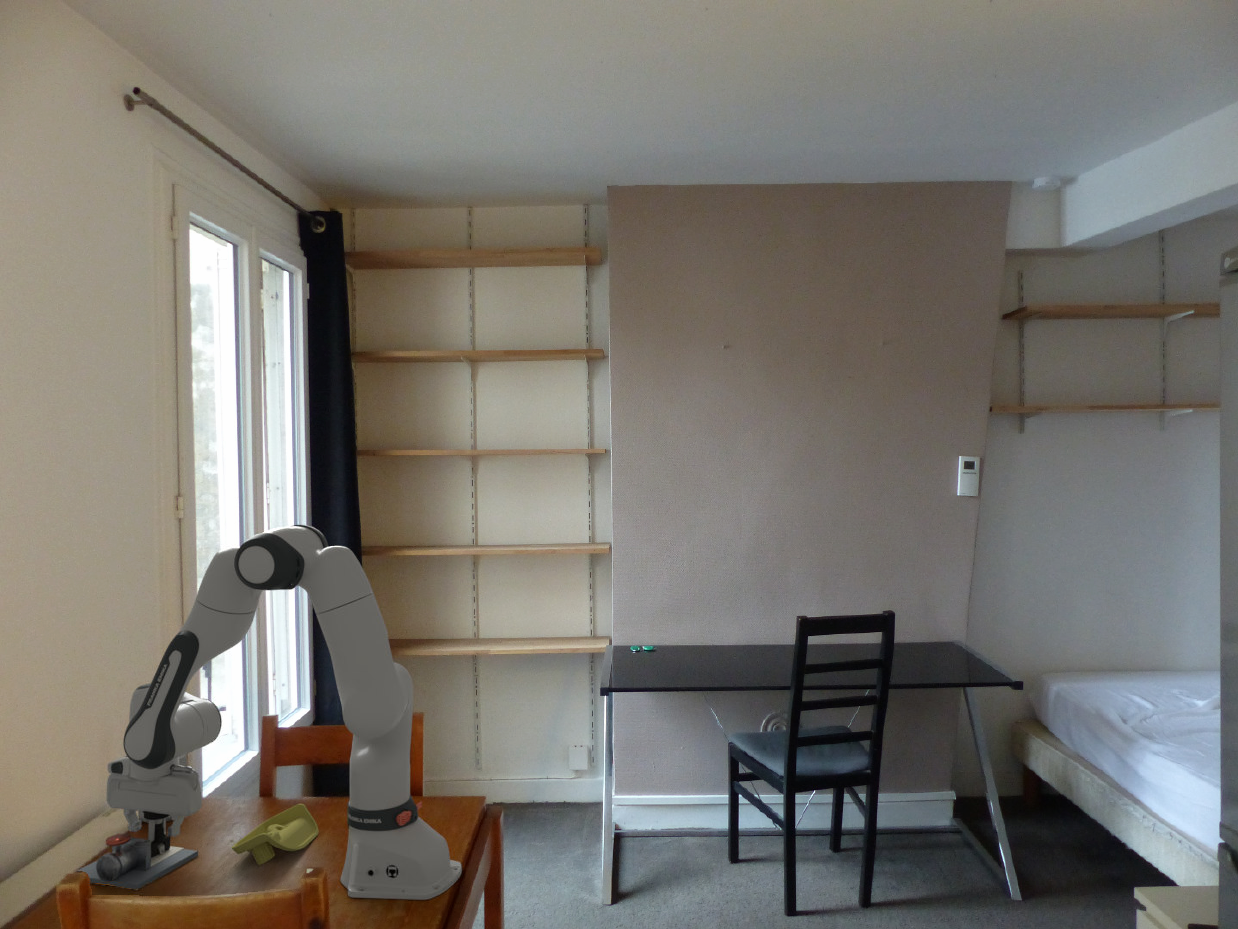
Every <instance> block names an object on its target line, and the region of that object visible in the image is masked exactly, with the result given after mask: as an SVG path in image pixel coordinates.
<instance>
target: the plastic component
mask: <svg viewBox="0 0 1238 929" xmlns="http://www.w3.org/2000/svg"><path fill="white" fill-rule="evenodd" d="M318 835H319V827H318V824H317V822H316V820H315V819H314V817H313V816H312V814H311V813H310V811H309V810H308V807H306V805H305V804H303V803H298V804H296V805H294V806H291V807H290V808H287V809H285V810H283V811H282V812H280V813H277V814H276V815H274V816H272V817H270V818H268V819H266V820H265V821H263V822H262V823H260V824H258V825H257V826H256V827H255V828H254V829H253V830H250V832H249V833H247V834H246V835H244V837H242V838H240V840H238V841H237V842H236V843H235V844H233V845H232V846H231V849H232V850H233V852H235V853H236V855H237V854H238V855H240V854H244V853H246V852H247V853H252V855H253V857H254V860H255V862H256V864H257V866H260V865H263V864H265V863H266V862H269V861H270V860H271V859H273V858H274V857H275V856H276V854H275V851H274V850H273V847H275V848H278V849H280V850H283V851H287V852H297V851H299V850H302V849H304V848H306V847H307V846H308V845H309V844H310V842H312V841H313V840H315V838H316V837H317V836H318ZM272 846H273V847H272Z"/></svg>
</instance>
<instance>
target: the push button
mask: <svg viewBox="0 0 1238 929" xmlns="http://www.w3.org/2000/svg"><path fill="white" fill-rule="evenodd" d="M143 813H144V818H145V819H148V821H149V823H148V835H147V840H151V858H153V857H154V856H156V855H158V854H162V853H164V851H165V850H169V849H170V846H171V837H172V836H168V835H167V832H166V828H167V827H166V826H167V822H166V818H167V817H168V816H169V815H168V814H160V813H153V812H147V811H143Z"/></svg>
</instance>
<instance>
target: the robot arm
mask: <svg viewBox="0 0 1238 929" xmlns="http://www.w3.org/2000/svg"><path fill="white" fill-rule="evenodd" d="M296 587H300V588H302V589H303V591H304V590H305V592H306V593H307V594H308V596H309V600H310V601H311V603H312V607H313V609H314V610H313V611H314V612H315V615H316V619H317V621H318V623H319V627H320V629H321V632H322V635H323V637H324V640H325V643H326V646H327V648H328V652H329V654H330V660H331V663H332V668H333V674H334V678H335V679H334V680H335V683H336V688H337V691H338V695H339V700H340V704H341V709H342V712H341V713H342V718H343V723H344V725H345V727H346V729H347V730H348V731H349V732H350V733H351V734H352V743H351V744H352V745H351V752H350V758H349V801H348V802H347V811H346V812H347V813H346V816H347V820H346V822H347V827H348V838H347V846H346V847H347V848H346V854H345V861H344V864H343V868H342V872H341V876H340V882H341V884H342V885H343V886H344V887H345V888H346V889H347V895H348V897H350V898H357V899H359V898H363V899H387V900H388V899H392V900H393V899H395V900H424V901H425V900H430V899H433V898H435V897H437V896H440V895H441V894H442V893H445V891H447V890H449V888H451V887H452V886H453V885H454V884H455V883H456V882H457V881H458V880H459V879H460V877H461V875H462V873H463V872H462V871H463V868H462V864H461V862H460V861H456V860H453V859H451V858H450V856H451V855H450V851H449V846H448V842H447V840H446V839H445V837H444V836H442V835H441V834H440V833H438V831H436V830H435V829H434V828H432V827H431V826H430V825H429V824H428V823H427V822H426V821H424V820H423V819H422V818H421V817H419V812H418V811H419V810H420V809H421V808H422V807H423V805H422V804H423V801H421V800H420V801H419V802H418V803H415V801H414V799H413V797H412V794H411V793H410V792H411V790H410V789H411V786H410V785H411V784H410V783H411V781H410V778H411V776H410V775H411V773H410V772H411V763H410V761H411V742H412V729H413V728H412V725H413V710H414V709H413V706H414V683H413V679H412V676H411V674H410V672H409V671H408V669H407V668H406V667H405V666H403V665H402V664H400V663H398V662H396V661H395V662H394V659H393V654H392V649H391V647H390V646H391V645H390V641H389V636H388V634H389V632H388V629H387V627H386V623H385V621H384V618H383V615H382V613H381V610H380V607H379V605H378V601H377V598H376V596H375V593H374V590H373V589H372V586H371V583H370V580H369V579H368V577H367V574H366V572H365V571H364V569H363V566H362V565H361V563H360V561H359V559H358V558H357V556H356V555H355V554H354V552H353V551H352V550H351V549H350V548H348V547H347V546H343V545H334V546H333V545H332V546H329V544H328V541H327V539H326V536H325V535H324V534H323V533H322V532H321V531H320V530H319V529H317V528H315V527H314V526H311V525H310V526H309V525H307V524H294V525H290V526H283V527H280V526H279V527H275V528H272V529H269V530H266V531H263V532H260V533H257V534H254V535H252V536H251V537H249V538H248V539H246V540H245V541H243V543H242V544H241V545H240V546H235V545H233V546H227V547H224V548H221V549H220V550H218V552H216V553H215V555H213V557H212V559H211V561H210V562H209V565H208V567H207V569H206V570H205V572H204V576H203V578H202V580H201V583H200V585H199V588H198V590H197V594H196V597H195V599H194V603H193V605H192V608H191V611H190V612H189V614H188V616H187V618H186V620H185V622H184V623H183V625H182V626H181V627H180V630H179V631H178V632H177V634H175V636H174V637H173V638H172V639H171V641H170V643H169V644H168V645H167V647H166V650H165V652H164V653H163V656H162V658H161V660H160V662H159V665H158V666H157V669H156V672H155V673H154V676H153V678H152V680H151V682H149V683H146V684H142V685H140V686H138V687H137V688H136V689H134V691H133V693H132V695H131V700H130V705H129V717H128V718H129V719H128V721H129V723H128V724H127V726H126V729H125V731H124V735H123V744H122V745H123V751H124V753H125V756H122V757H119V758H117V759H115V760H113V761H110V762H109V763H108V764H107V773H108V774H109V775H108V777H107V779H106V801H107V804H108V806H109V807H110V808H112V809H121V810H123V816H124V818H125V820H126V822H127V823H128V832H135V833H136V832H138V831H140V830H141V829H142V822H143V821H142V820H141V819H139V817H138V815H137V812H138V811H147V812H153V813H160V814H168V815H172V820H171V821H173V822H172V824H171V825H170V826H168V827H166V828H167V832H166V836H170V837H174V838H175V837H177V836H179V835H181V826H182V824H183V822H184V820H185V818H186V817H190V816H192V815H194V814H196V813H198V812H199V811H200V810H201V809H202V805H203V797H202V796H203V795H202V789H201V787H202V786H201V783H200V782H201V781H200V778H199V777H200V776H199V773H198V772H197V771H196V770H195V769H194V768H193V767H192V766H190V765H186V767H185V766H180V765H179V757H180V756H182V755H185V754H186V755H187V754H190V753H193V752H194V751H197V750H199V749H201V748H204V747H206V746H208V745H210V744H212V743H214V742H215V741H216V740H217V738H218V737H219V734H220V733H221V729H222V722H223V720H222V715H221V712H220V709H219V707H218V706H217V705H216V704H215V703H214V702H213V701H211V700H210V699H207V698H201V697H198V696H195V695H193V694H192V693H188V691H187V689H188V686H189V685H190V682H191V680H192V679H193V677H194V676H195V674H196V673H197V672H198V671H199V670H201V668H203V667H204V666H205V665H206V664H207V663H209V662H210V661H212V660H214V659H215V658H217V657H218V656H220V655H221V654H223V653H224V652H227V651H228V650H230V649H232V648H233V647H235V646H236V645H238V644H239V643H241V641H243V639H244V638H245V637H246V635H247V633H248V632H249V630H250V629H251V626H252V624H253V622H254V618H255V615H256V611H257V609H258V605H259V601H260V598H261V596H262V592H263V591H289V590H294V589H295V588H296Z"/></svg>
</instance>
